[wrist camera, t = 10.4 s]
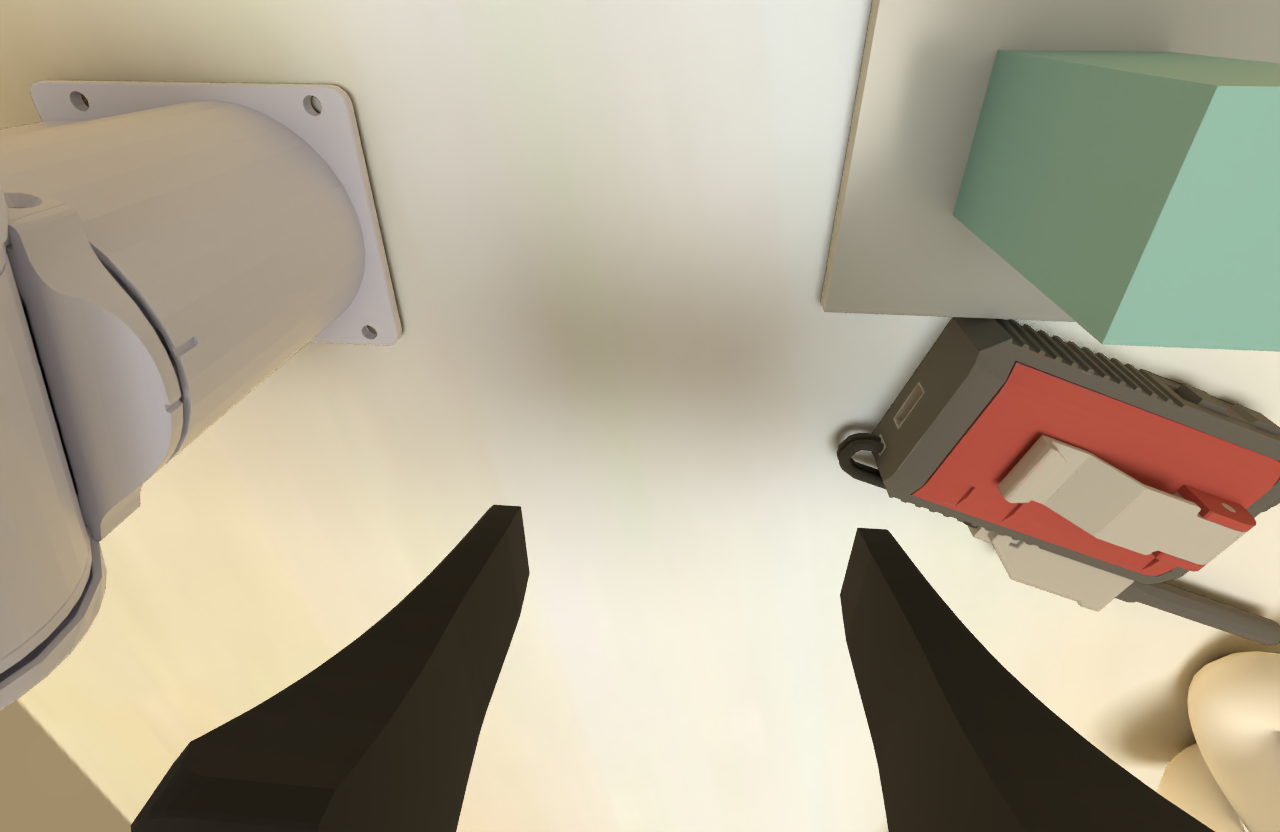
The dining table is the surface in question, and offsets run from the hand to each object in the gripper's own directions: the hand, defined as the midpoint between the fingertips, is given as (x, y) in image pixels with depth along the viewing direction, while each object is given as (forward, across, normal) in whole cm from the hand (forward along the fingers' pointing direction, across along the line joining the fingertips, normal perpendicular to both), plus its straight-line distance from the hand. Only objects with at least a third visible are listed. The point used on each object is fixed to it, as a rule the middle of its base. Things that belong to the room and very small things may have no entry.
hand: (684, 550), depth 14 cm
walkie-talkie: (+10, -15, +5) cm, 19 cm away
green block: (+9, -9, -7) cm, 14 cm away
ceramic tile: (+9, -9, -7) cm, 15 cm away
